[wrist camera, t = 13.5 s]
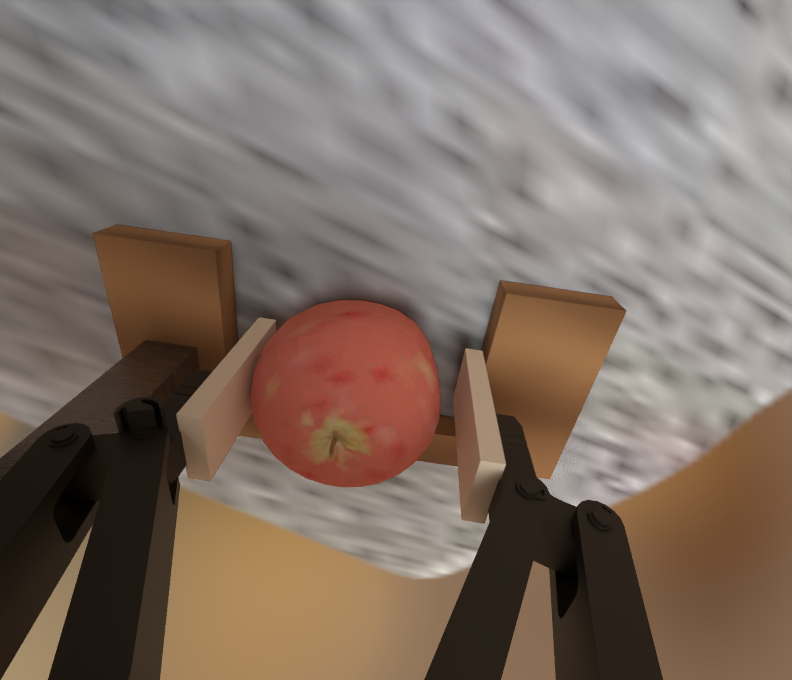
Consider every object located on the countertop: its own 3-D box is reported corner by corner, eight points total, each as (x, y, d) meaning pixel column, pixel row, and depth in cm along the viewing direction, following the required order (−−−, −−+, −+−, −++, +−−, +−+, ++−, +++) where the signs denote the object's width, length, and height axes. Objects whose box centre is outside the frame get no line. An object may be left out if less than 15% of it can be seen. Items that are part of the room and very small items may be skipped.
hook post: (124, 238, 16) (-730, 597, 4) (183, 246, 16) (-499, 627, 4) (153, 381, 20) (-268, 802, 8) (202, 388, 20) (-143, 818, 8)
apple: (276, 270, 18) (186, 366, 11) (439, 269, 18) (448, 369, 11) (299, 401, 22) (241, 534, 15) (435, 403, 22) (441, 542, 15)
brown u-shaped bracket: (117, 224, 18) (92, 233, 16) (611, 296, 18) (626, 311, 17) (154, 403, 23) (137, 421, 21) (542, 458, 23) (549, 479, 22)
